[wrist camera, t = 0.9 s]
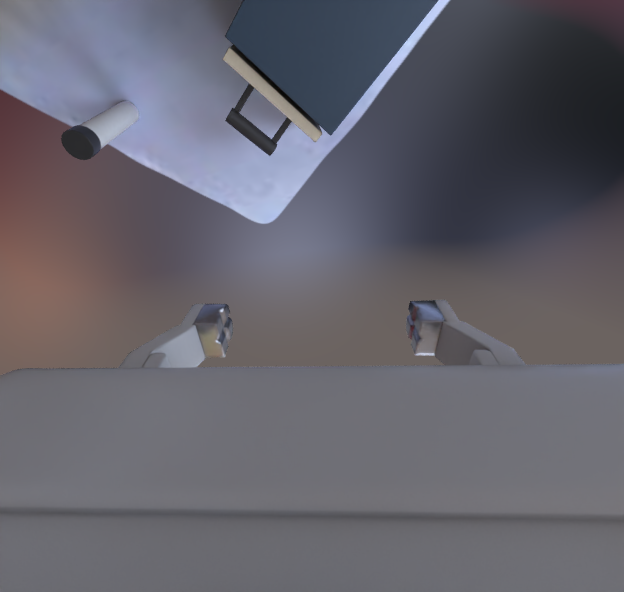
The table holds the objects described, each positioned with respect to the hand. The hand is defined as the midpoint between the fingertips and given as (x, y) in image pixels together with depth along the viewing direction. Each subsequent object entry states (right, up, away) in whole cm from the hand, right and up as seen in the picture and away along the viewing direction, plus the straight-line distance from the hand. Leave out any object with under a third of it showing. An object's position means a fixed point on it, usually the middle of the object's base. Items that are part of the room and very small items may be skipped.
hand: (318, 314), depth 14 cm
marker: (-23, +24, +25) cm, 41 cm away
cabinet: (+1, +32, +20) cm, 38 cm away
